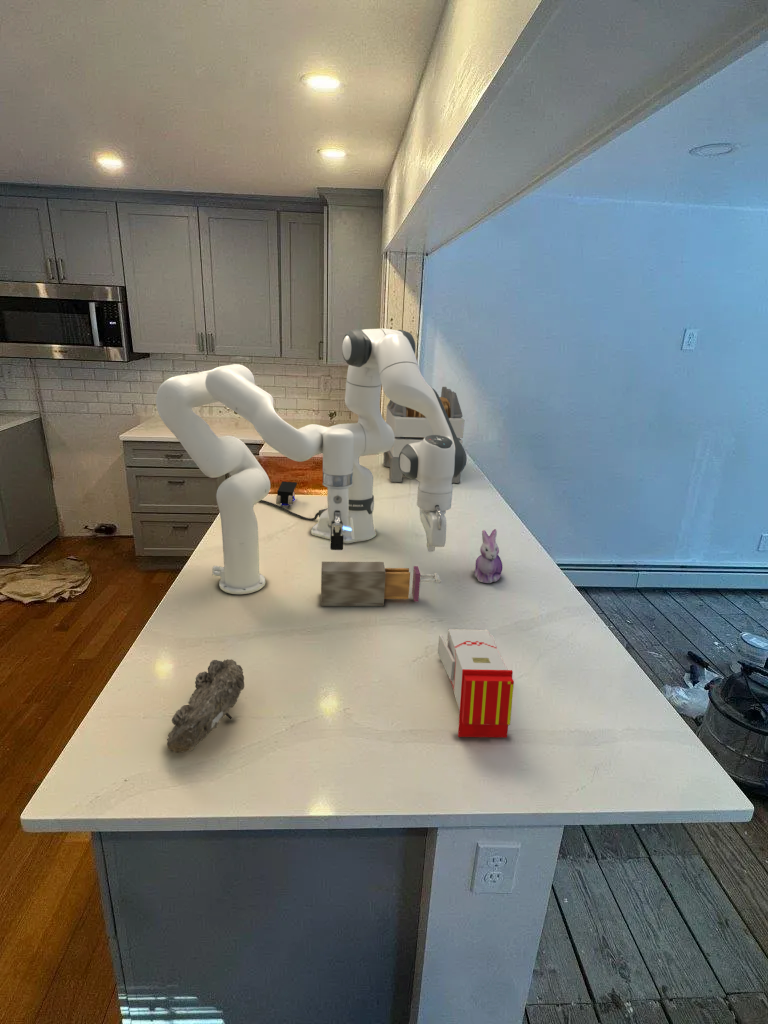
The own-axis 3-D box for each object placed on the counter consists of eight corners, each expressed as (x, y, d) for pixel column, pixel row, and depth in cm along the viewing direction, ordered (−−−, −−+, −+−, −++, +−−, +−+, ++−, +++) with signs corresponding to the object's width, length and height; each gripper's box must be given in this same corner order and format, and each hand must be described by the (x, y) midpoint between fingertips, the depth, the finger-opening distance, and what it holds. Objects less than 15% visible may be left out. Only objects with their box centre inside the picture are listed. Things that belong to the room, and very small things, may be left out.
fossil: (192, 660, 117) (244, 628, 112) (224, 691, 120) (276, 661, 115) (142, 746, 98) (202, 712, 93) (182, 779, 101) (242, 748, 96)
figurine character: (293, 513, 218) (297, 497, 231) (292, 495, 215) (297, 480, 228) (275, 513, 218) (281, 496, 231) (274, 495, 214) (280, 479, 228)
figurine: (485, 587, 164) (491, 539, 159) (465, 572, 172) (469, 526, 167) (511, 581, 168) (517, 534, 163) (490, 567, 176) (495, 522, 171)
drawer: (436, 593, 157) (438, 566, 155) (439, 601, 153) (441, 573, 150) (360, 593, 155) (361, 565, 153) (360, 601, 151) (361, 573, 148)
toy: (488, 613, 130) (523, 677, 101) (484, 667, 133) (517, 744, 104) (435, 612, 130) (455, 676, 101) (432, 666, 133) (451, 743, 103)
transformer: (382, 463, 289) (386, 382, 275) (445, 464, 293) (451, 384, 279) (390, 482, 257) (394, 392, 243) (460, 483, 261) (468, 394, 247)
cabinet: (382, 595, 157) (383, 561, 153) (383, 605, 151) (385, 571, 148) (321, 595, 155) (321, 561, 152) (321, 606, 150) (321, 571, 146)
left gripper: (353, 489, 134) (352, 555, 139) (351, 469, 150) (350, 529, 156) (321, 489, 133) (321, 555, 139) (323, 469, 149) (322, 529, 155)
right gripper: (454, 513, 136) (449, 566, 141) (439, 488, 155) (436, 534, 160) (428, 513, 135) (424, 566, 140) (416, 487, 154) (413, 534, 159)
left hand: (336, 541), depth 147 cm, fingers open, 9 cm apart
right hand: (430, 549), depth 150 cm, fingers closed
